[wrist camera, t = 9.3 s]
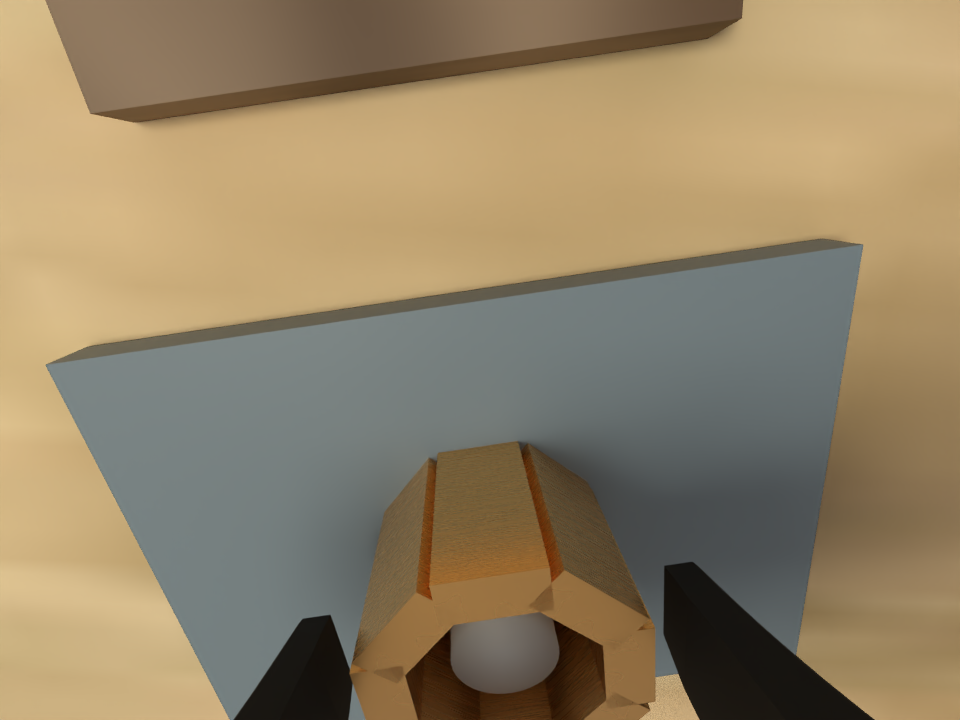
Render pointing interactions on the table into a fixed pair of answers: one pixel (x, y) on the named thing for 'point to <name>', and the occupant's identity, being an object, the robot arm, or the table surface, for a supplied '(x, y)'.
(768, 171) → the table surface
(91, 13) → the stand
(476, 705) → the collar
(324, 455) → the board
